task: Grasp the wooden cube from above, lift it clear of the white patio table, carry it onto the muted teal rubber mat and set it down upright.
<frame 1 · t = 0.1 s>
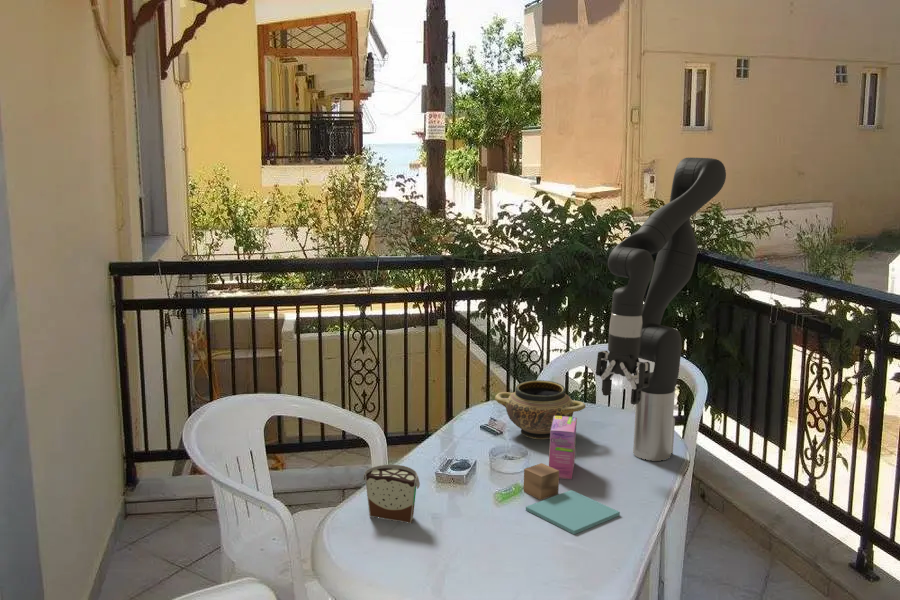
hand: (620, 399, 202), 17 cm above the table, tool pointing down, fingers open, 8 cm apart
ceramic bowl: (538, 434, 228), on the table
box: (561, 470, 204), on the table
cube: (540, 492, 191), on the table
food container: (395, 515, 180), on the table
mat: (572, 512, 181), on the table
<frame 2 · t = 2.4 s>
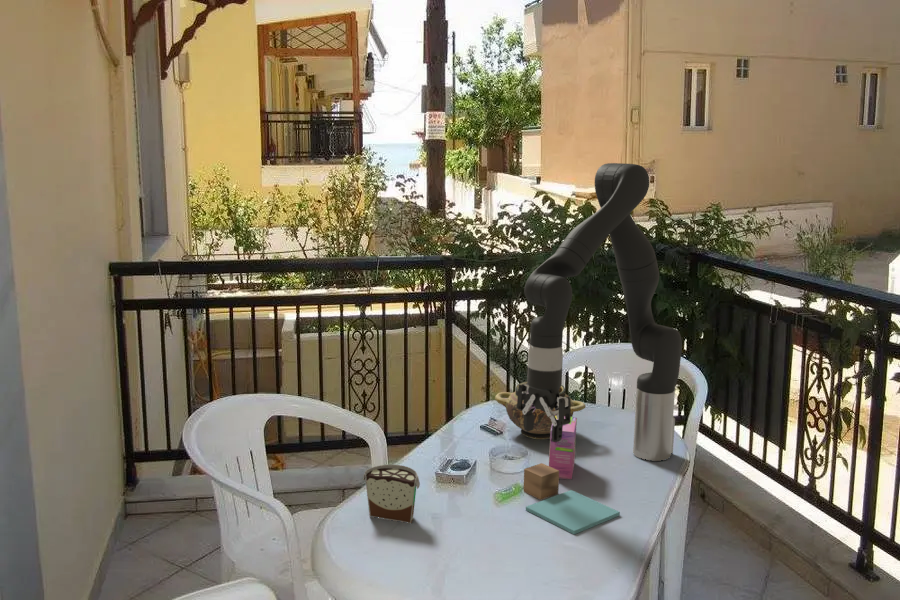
hand: (542, 435, 188), 13 cm above the table, tool pointing down, fingers open, 8 cm apart
nothing on the table moved.
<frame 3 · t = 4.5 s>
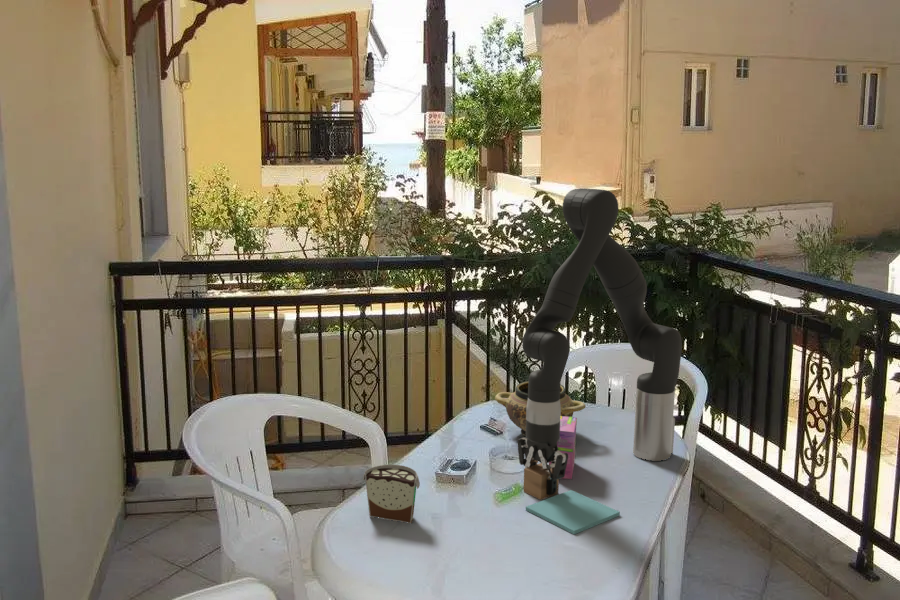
hand: (540, 489, 191), 1 cm above the table, tool pointing down, fingers closed on cube, 5 cm apart
cube: (540, 492, 191), on the table, touching gripper
everything else where it was.
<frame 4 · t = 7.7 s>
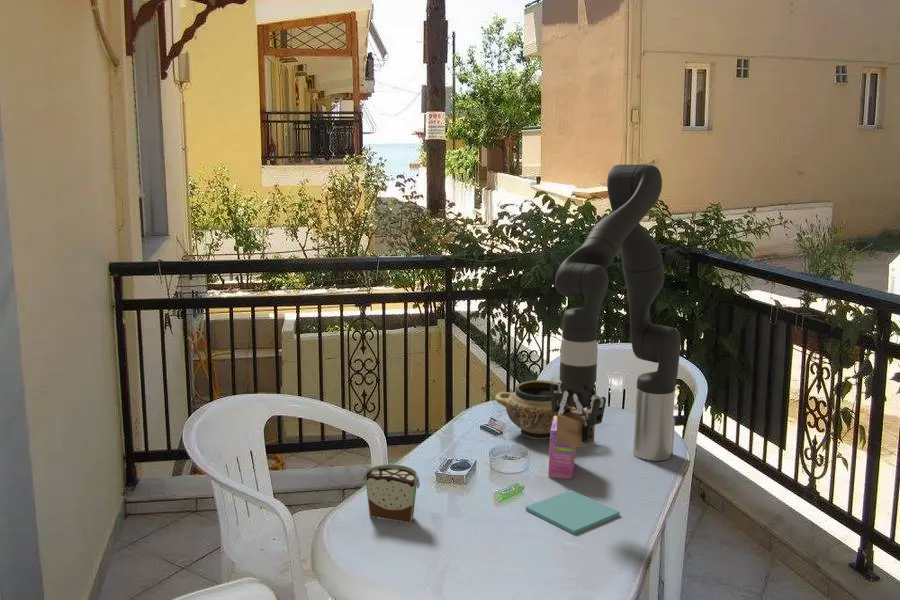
hand: (575, 437, 178), 17 cm above the table, tool pointing down, fingers closed on cube, 5 cm apart
cube: (575, 441, 178), point 16 cm above the table, touching gripper
everything else where it was.
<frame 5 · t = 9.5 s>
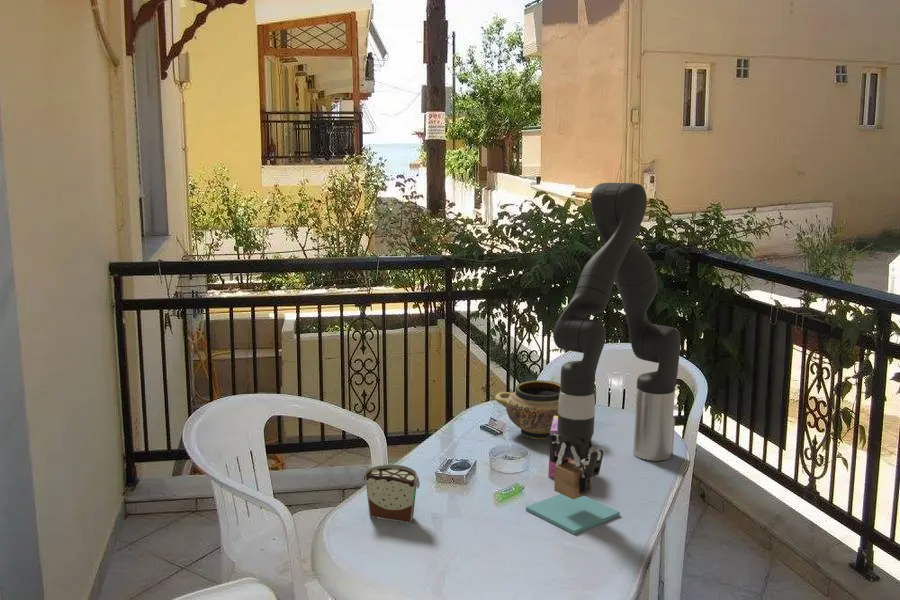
hand: (573, 488, 180), 6 cm above the table, tool pointing down, fingers closed on cube, 5 cm apart
cube: (572, 491, 180), point 5 cm above the table, touching gripper
everything else where it was.
when the fingers open (3 cm above the table, at t = 11.0 s): cube drops 1 cm, resting on mat.
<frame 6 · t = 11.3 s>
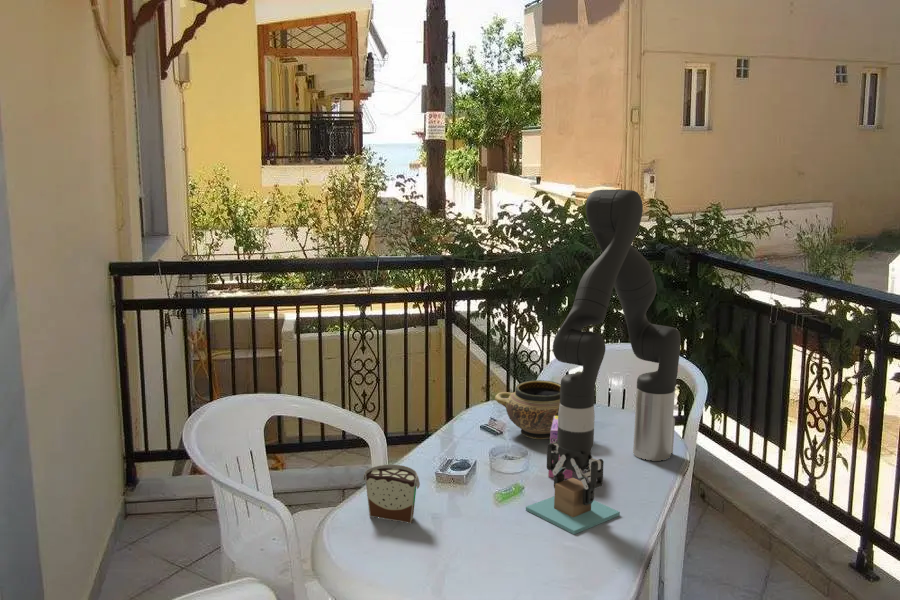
hand: (573, 497, 180), 3 cm above the table, tool pointing down, fingers open, 7 cm apart
cube: (572, 509, 181), point 1 cm above the table, touching mat
everything else where it was.
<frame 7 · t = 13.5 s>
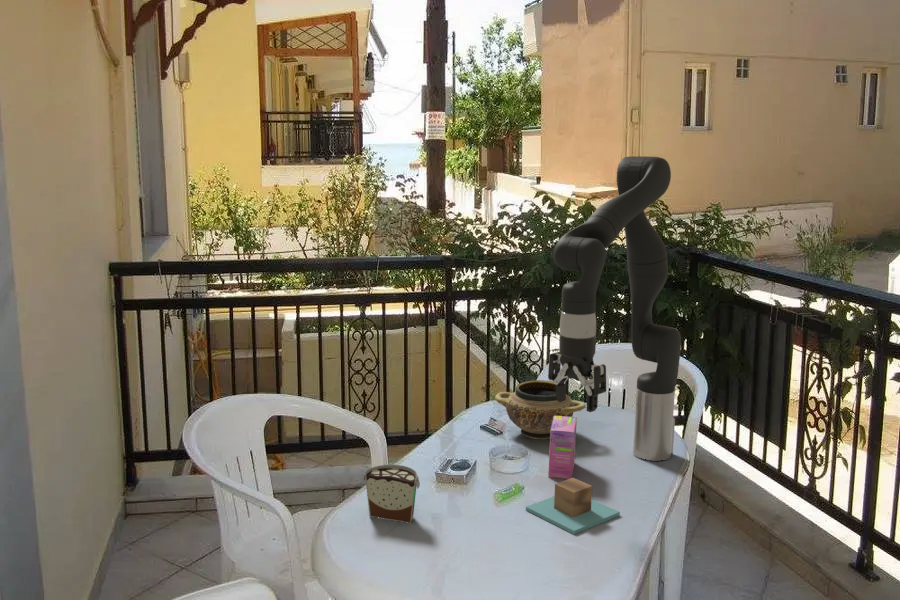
hand: (575, 405, 181), 22 cm above the table, tool pointing down, fingers open, 8 cm apart
nothing on the table moved.
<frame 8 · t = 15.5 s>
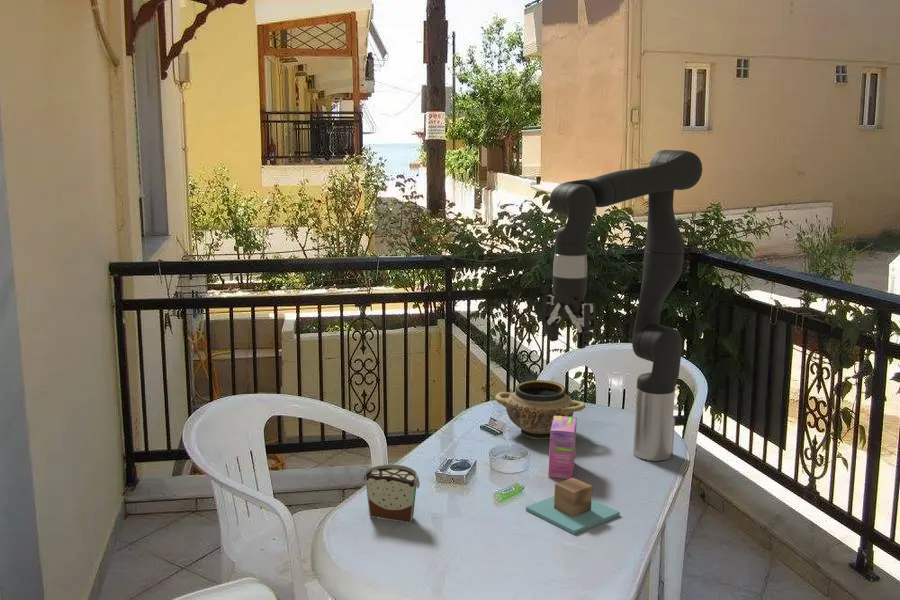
hand: (567, 344, 193), 32 cm above the table, tool pointing down, fingers open, 8 cm apart
nothing on the table moved.
at the end: cube inside the target area on the mat (0.0 cm from its centre), point 0.8 cm above the mat's base; cube tilted 0°; the gripper is holding nothing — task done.
